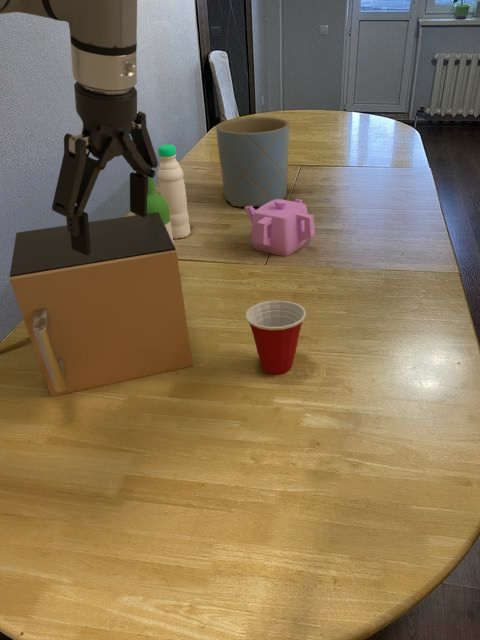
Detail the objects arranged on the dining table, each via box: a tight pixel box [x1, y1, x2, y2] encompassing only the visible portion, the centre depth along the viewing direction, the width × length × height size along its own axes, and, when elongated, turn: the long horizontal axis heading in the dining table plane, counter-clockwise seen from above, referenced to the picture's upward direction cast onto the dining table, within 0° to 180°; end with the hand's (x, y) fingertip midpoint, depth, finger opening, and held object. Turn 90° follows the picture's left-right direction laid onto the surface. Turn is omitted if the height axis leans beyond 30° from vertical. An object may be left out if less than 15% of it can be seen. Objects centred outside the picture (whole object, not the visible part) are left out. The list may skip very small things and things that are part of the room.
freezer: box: [9, 212, 177, 278], centre depth 97 cm, size 18×26×24 cm
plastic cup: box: [245, 299, 307, 376], centre depth 95 cm, size 11×11×12 cm
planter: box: [215, 116, 290, 208], centre depth 168 cm, size 23×23×24 cm
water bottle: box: [157, 143, 191, 240], centre depth 144 cm, size 7×7×25 cm
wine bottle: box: [134, 177, 175, 245], centre depth 119 cm, size 8×8×30 cm
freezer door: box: [9, 250, 194, 398], centre depth 87 cm, size 8×26×24 cm, turn 108°
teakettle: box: [244, 198, 316, 257], centre depth 140 cm, size 17×17×12 cm
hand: (111, 231), depth 79 cm, fingers open, 13 cm apart
